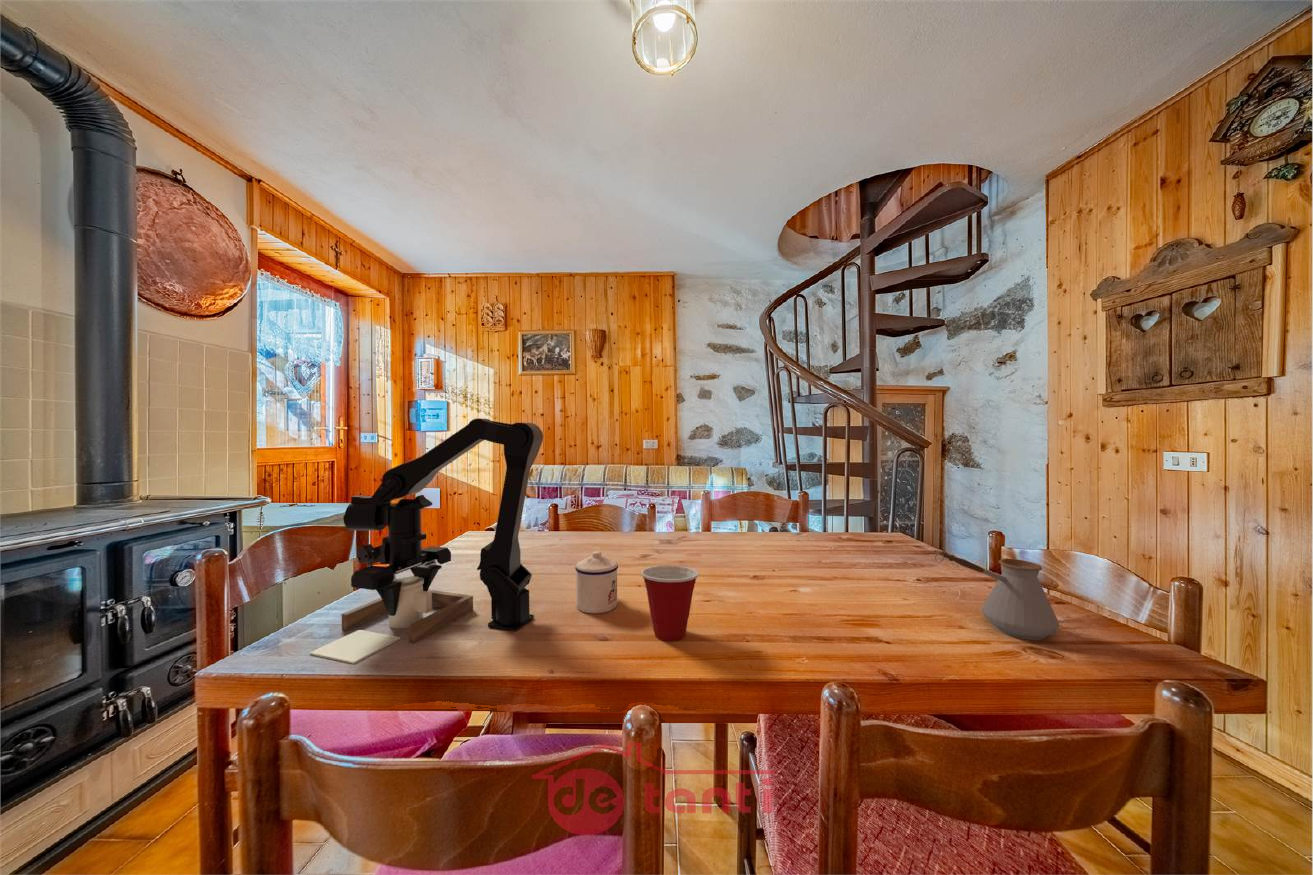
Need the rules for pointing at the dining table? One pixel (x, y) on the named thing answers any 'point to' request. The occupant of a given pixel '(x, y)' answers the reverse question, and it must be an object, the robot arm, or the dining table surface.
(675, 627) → the plastic cup
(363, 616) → the cradle
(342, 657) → the pad
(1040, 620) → the coffee pot
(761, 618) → the dining table surface
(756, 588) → the dining table surface
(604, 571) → the teacup with lid
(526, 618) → the robot arm
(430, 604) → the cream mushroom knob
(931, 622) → the dining table surface
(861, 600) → the dining table surface
